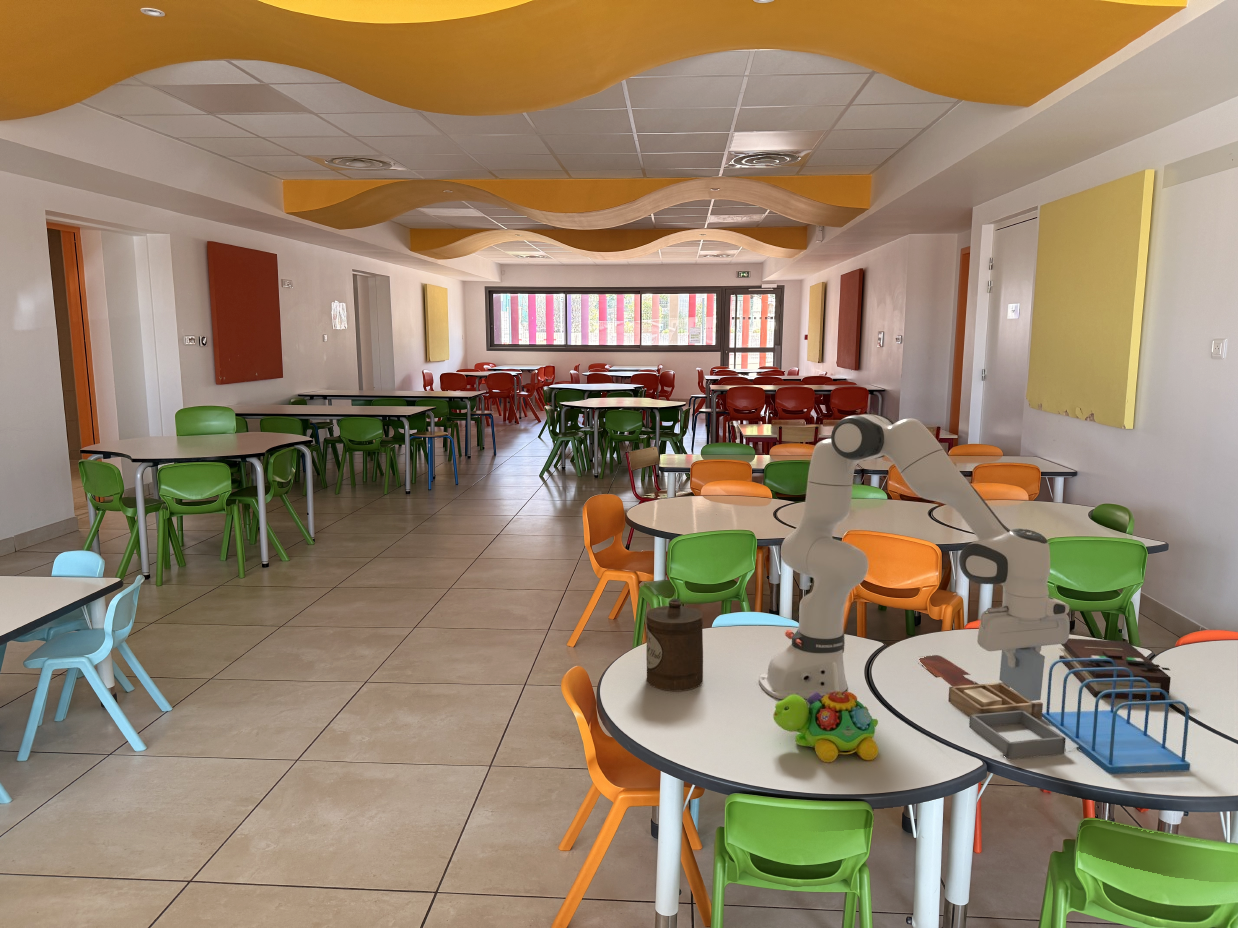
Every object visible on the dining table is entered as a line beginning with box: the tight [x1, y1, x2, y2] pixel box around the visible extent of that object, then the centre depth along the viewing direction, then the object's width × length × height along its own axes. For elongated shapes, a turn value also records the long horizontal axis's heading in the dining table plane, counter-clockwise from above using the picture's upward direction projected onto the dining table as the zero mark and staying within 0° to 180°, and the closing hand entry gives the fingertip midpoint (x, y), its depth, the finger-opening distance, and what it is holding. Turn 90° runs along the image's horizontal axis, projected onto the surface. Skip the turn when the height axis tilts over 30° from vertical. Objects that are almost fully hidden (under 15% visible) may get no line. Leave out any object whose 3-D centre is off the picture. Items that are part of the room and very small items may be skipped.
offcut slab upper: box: [963, 688, 1002, 707], centre depth 196 cm, size 5×7×2 cm
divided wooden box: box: [948, 681, 1044, 720], centre depth 197 cm, size 16×13×4 cm
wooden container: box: [646, 597, 704, 692], centre depth 216 cm, size 15×15×22 cm
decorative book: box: [1058, 637, 1172, 701], centre depth 216 cm, size 19×8×30 cm
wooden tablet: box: [919, 654, 979, 687], centre depth 221 cm, size 27×10×2 cm, turn 7°
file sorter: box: [1042, 658, 1191, 775], centre depth 181 cm, size 25×17×15 cm
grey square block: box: [998, 647, 1046, 702], centre depth 181 cm, size 3×10×10 cm, turn 11°
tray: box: [968, 710, 1067, 760], centre depth 183 cm, size 13×14×4 cm
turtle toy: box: [772, 691, 879, 763], centre depth 181 cm, size 17×23×12 cm
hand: (1021, 665), depth 181 cm, fingers closed on grey square block, 3 cm apart
